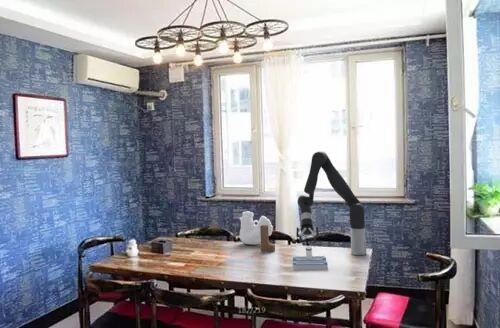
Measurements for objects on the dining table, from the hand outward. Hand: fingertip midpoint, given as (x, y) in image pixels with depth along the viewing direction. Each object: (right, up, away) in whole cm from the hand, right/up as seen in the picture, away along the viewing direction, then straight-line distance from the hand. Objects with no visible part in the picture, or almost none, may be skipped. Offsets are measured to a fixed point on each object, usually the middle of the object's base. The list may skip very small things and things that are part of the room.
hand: (307, 242), depth 263 cm
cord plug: (0, -11, -6) cm, 13 cm away
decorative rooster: (-32, -10, +46) cm, 57 cm away
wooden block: (-24, -11, +25) cm, 36 cm away
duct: (0, -11, -10) cm, 15 cm away
